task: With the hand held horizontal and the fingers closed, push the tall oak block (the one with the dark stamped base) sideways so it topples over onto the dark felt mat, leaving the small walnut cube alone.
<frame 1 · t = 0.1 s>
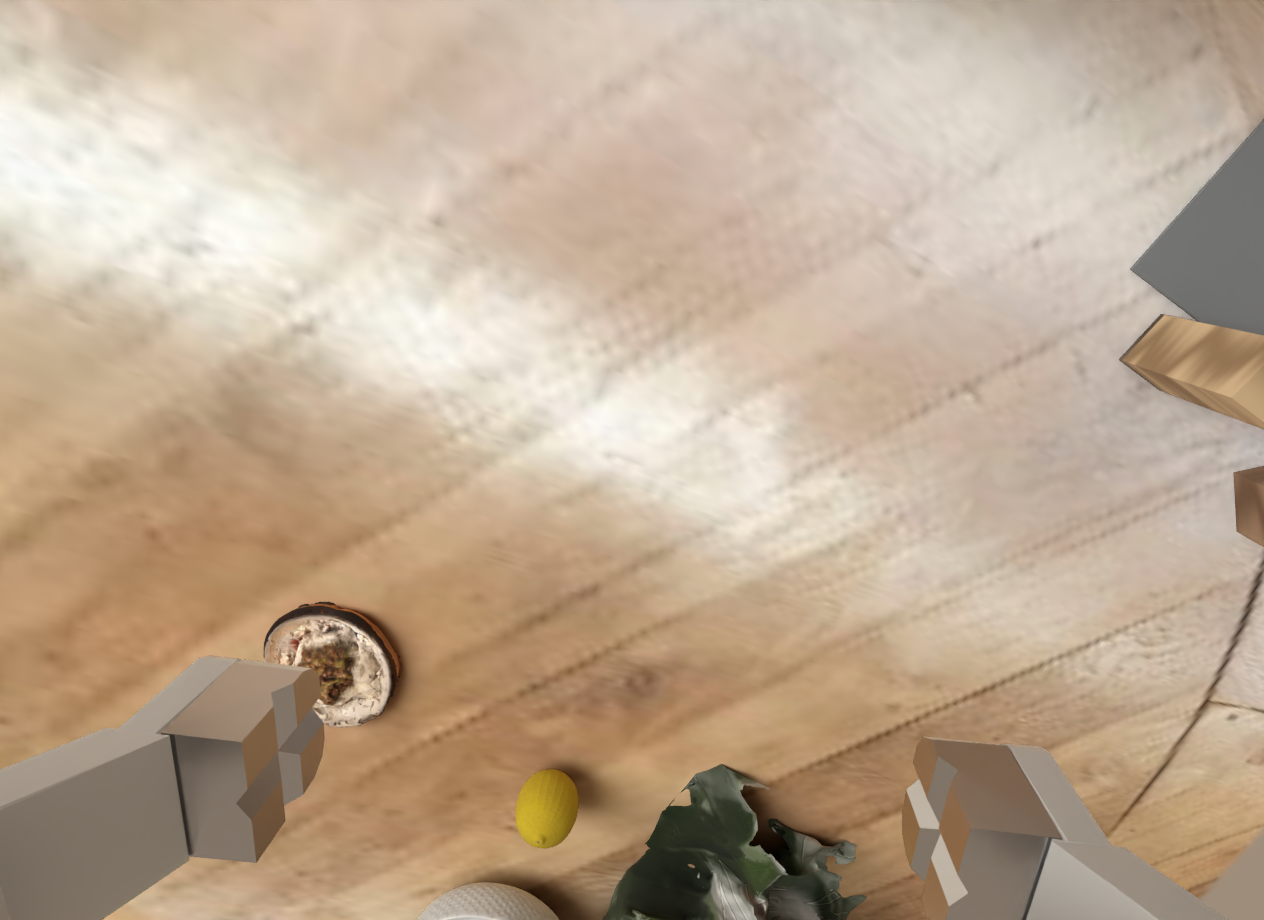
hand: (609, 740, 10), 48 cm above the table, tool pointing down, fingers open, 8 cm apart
oak block: (1160, 352, 53), on the table
cream pie: (338, 656, 69), on the table
lemon: (555, 773, 70), on the table
cereal bowl: (502, 915, 77), on the table
rose bouquet: (750, 901, 73), on the table
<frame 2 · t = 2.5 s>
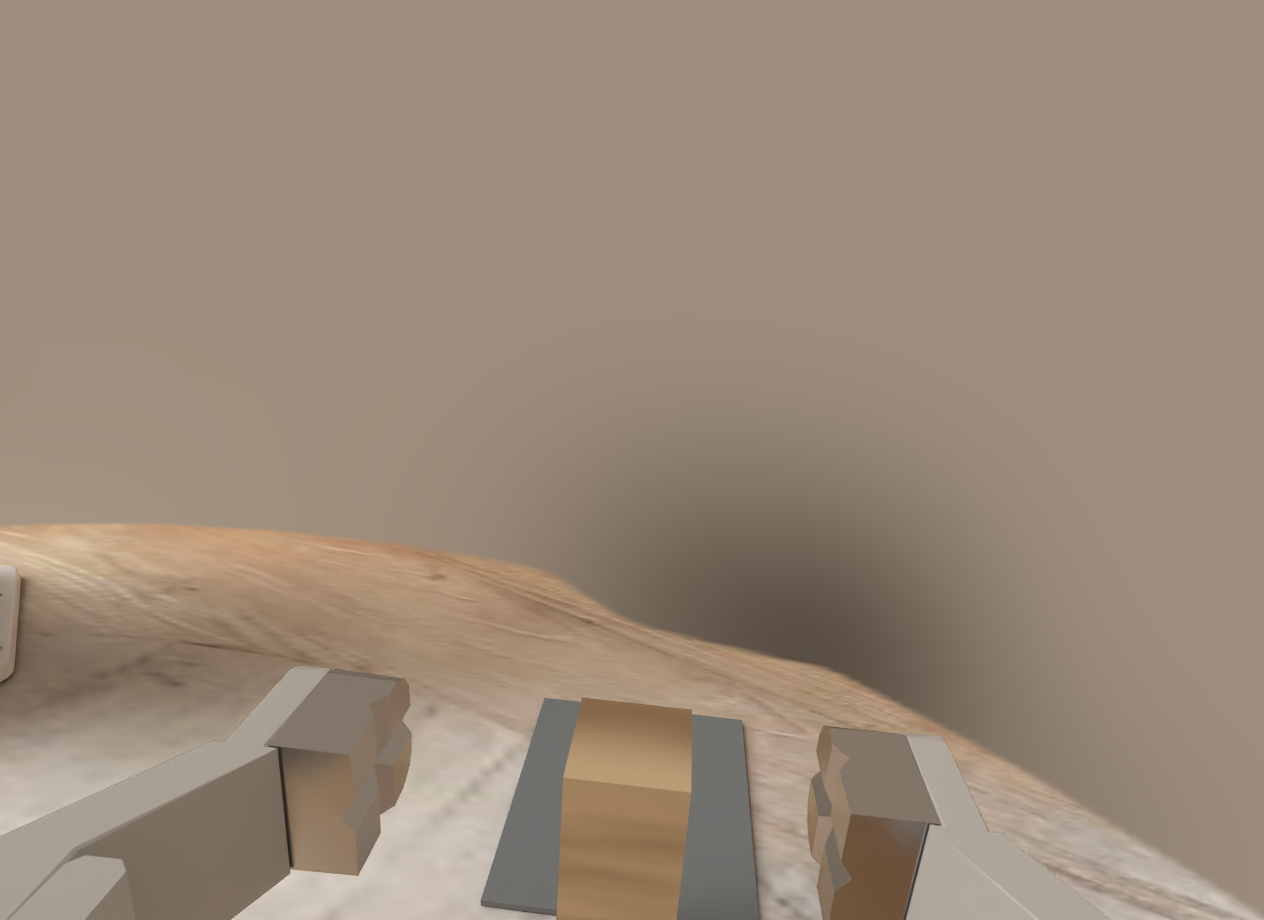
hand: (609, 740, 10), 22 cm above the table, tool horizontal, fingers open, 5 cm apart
felt mat: (632, 799, 38), on the table
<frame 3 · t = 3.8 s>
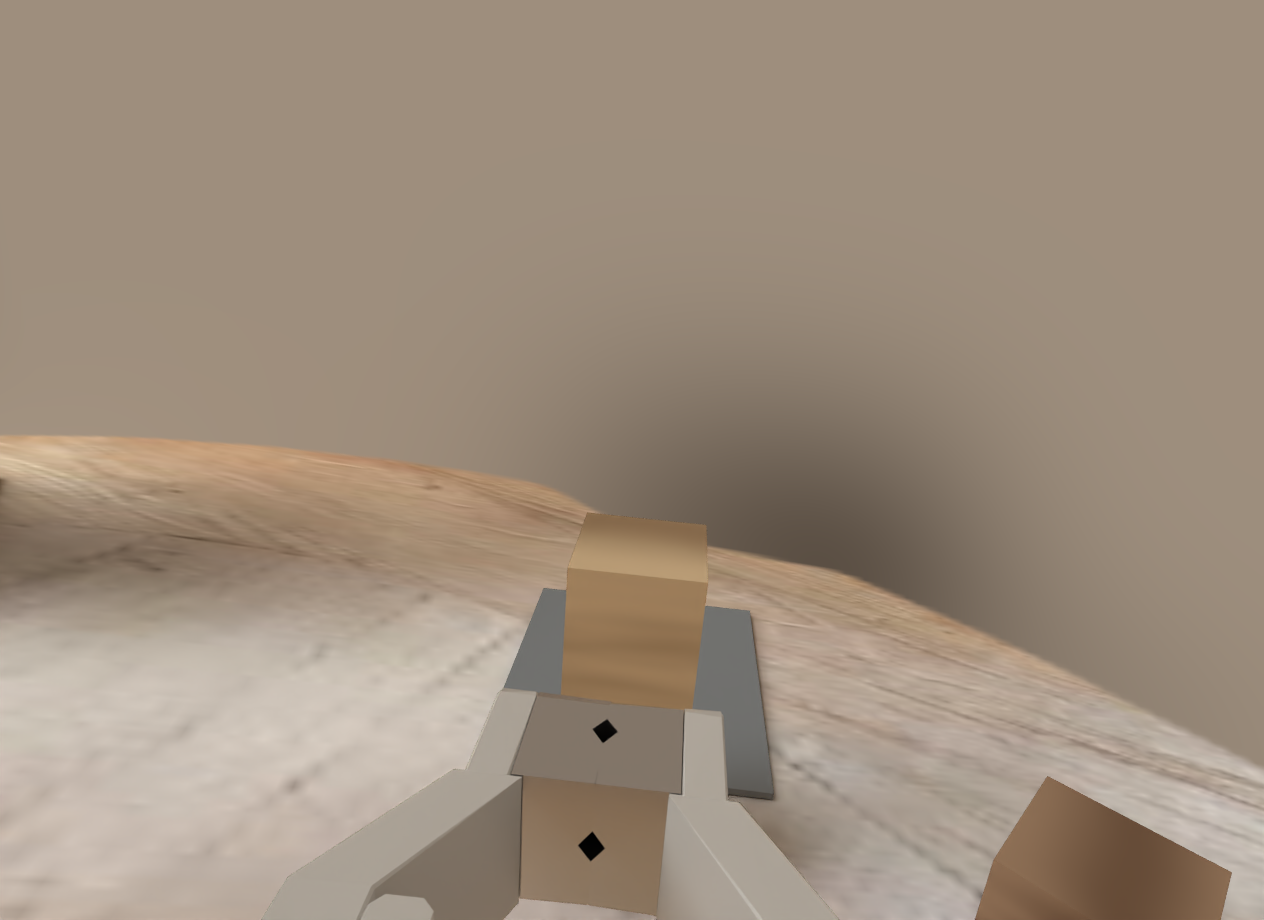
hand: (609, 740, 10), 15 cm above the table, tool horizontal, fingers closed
felt mat: (636, 676, 36), on the table
oak block: (615, 843, 27), on the table
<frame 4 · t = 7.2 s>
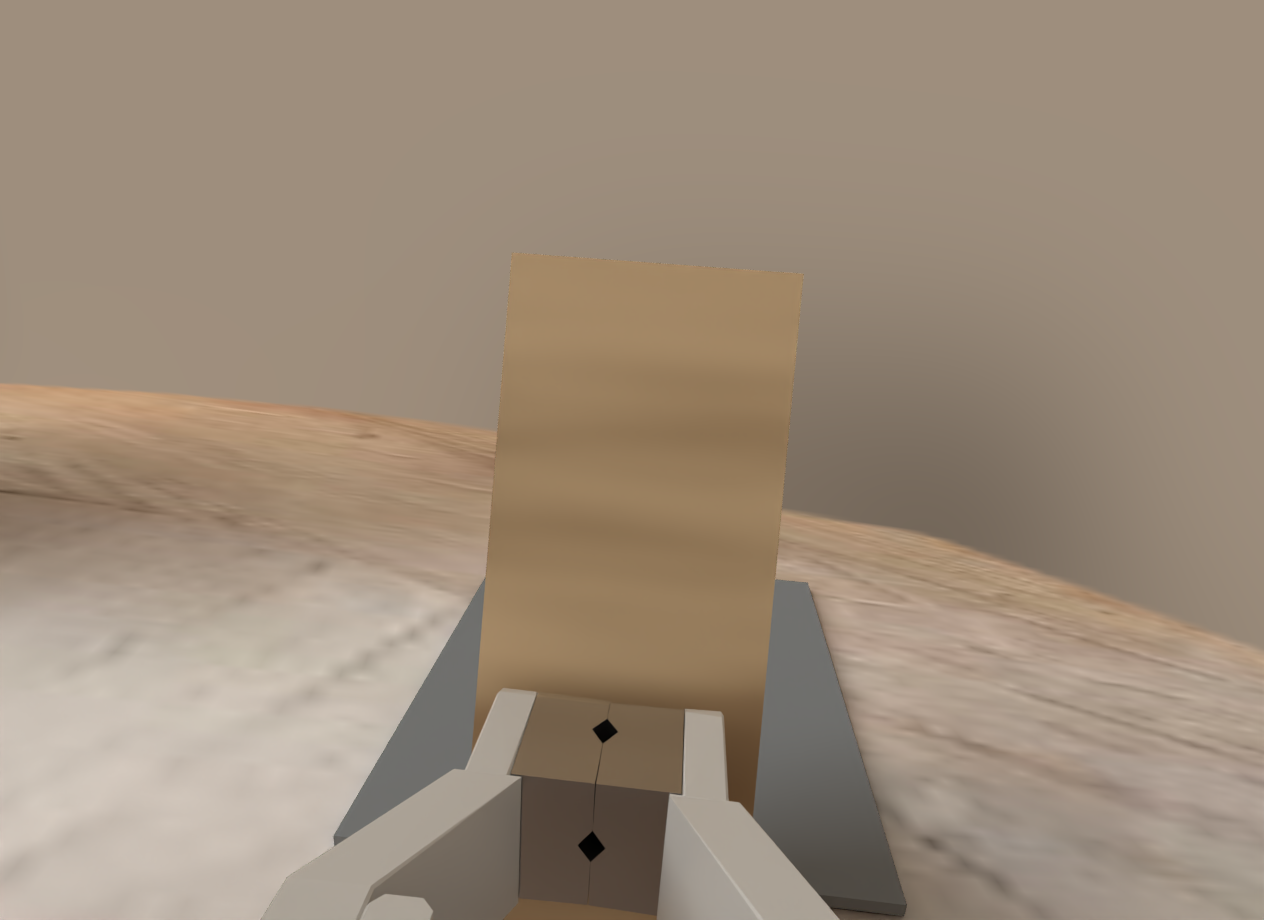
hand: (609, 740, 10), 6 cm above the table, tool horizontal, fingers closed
felt mat: (637, 681, 22), on the table
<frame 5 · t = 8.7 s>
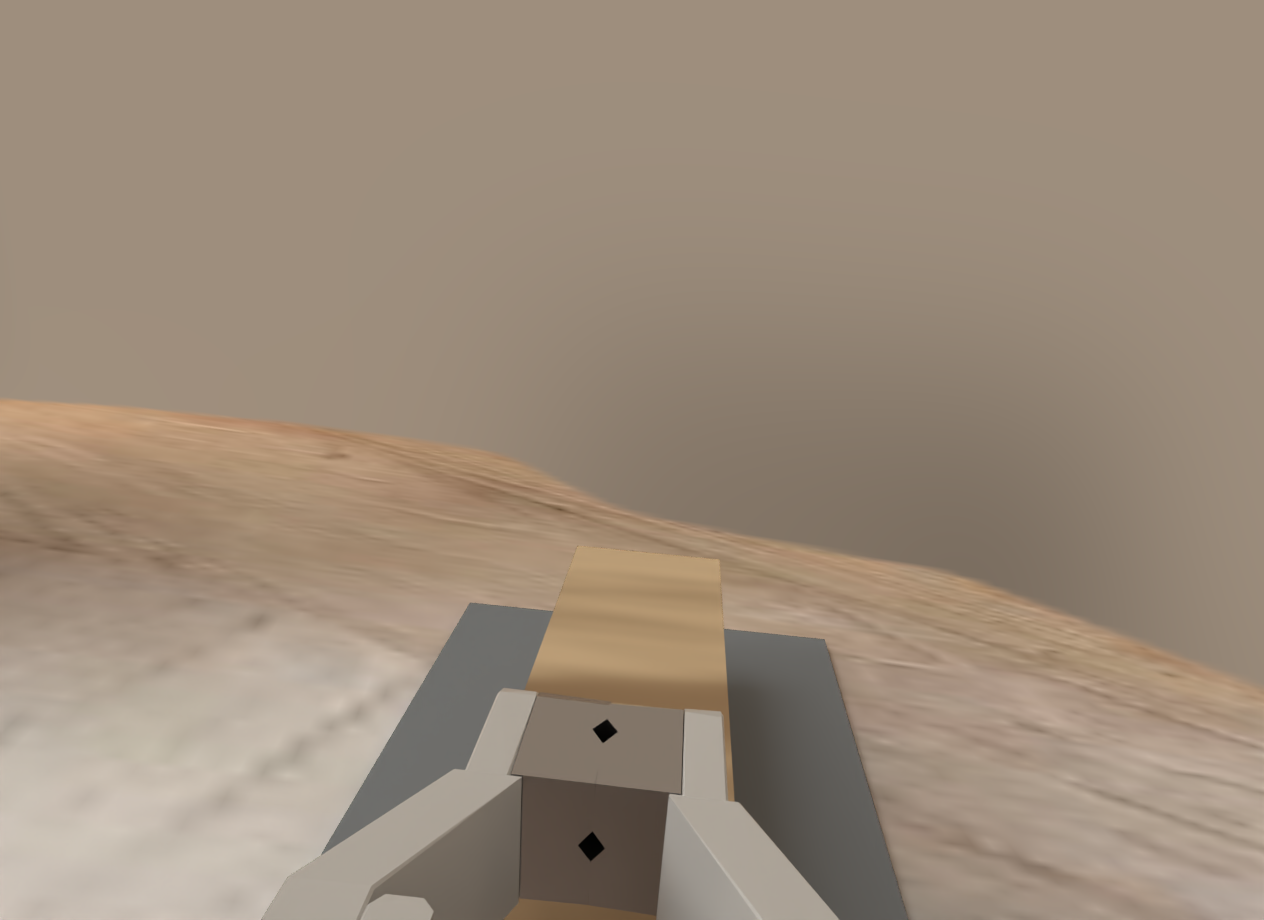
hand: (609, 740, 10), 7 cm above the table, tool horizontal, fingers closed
felt mat: (624, 777, 18), on the table
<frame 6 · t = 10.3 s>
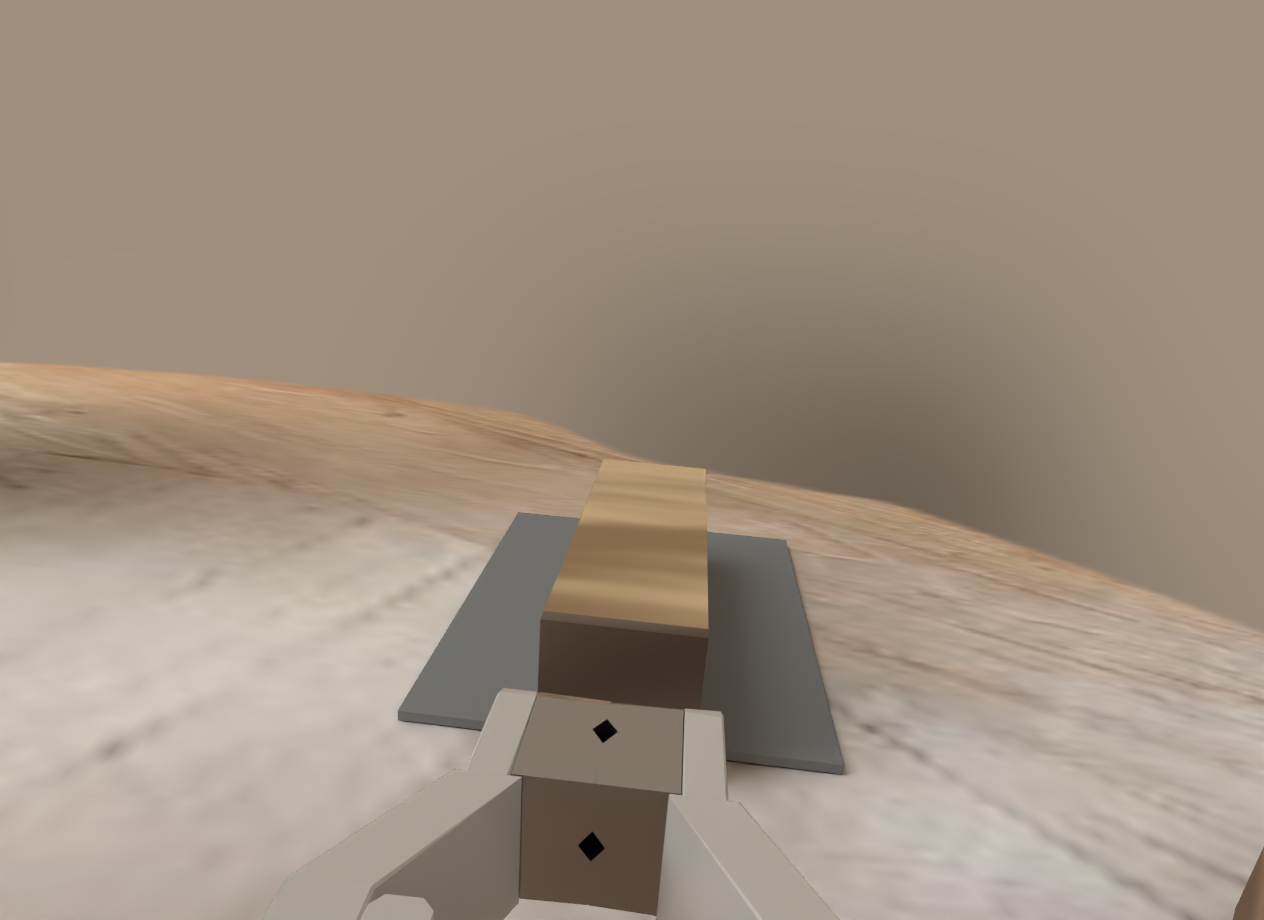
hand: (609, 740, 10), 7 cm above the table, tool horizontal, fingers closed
felt mat: (637, 612, 26), on the table
oak block: (618, 699, 18), point 2 cm above the table, tilted 90°, touching felt mat
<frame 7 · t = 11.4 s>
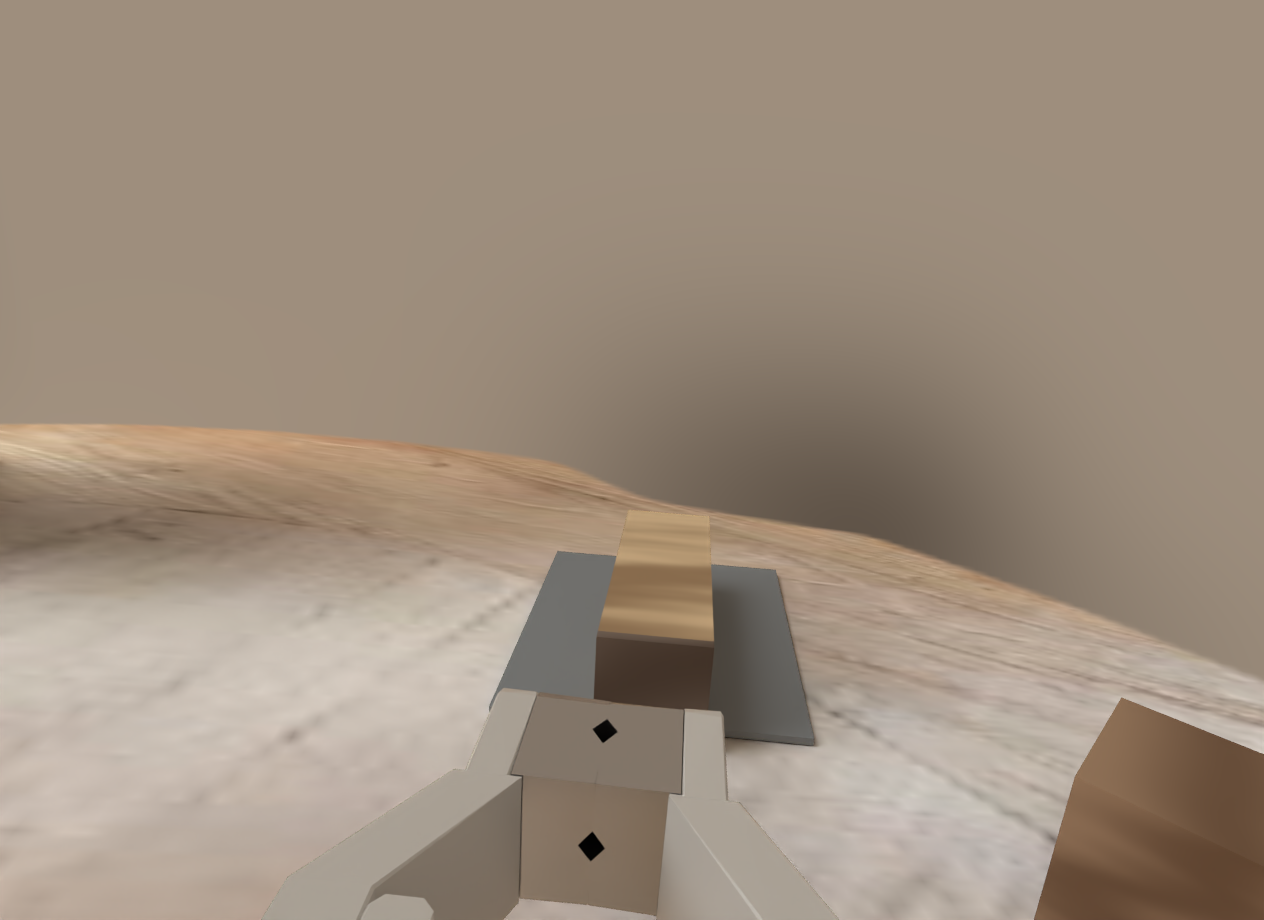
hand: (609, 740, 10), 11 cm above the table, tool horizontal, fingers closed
felt mat: (658, 631, 34), on the table
oak block: (651, 692, 25), point 2 cm above the table, tilted 90°, touching felt mat
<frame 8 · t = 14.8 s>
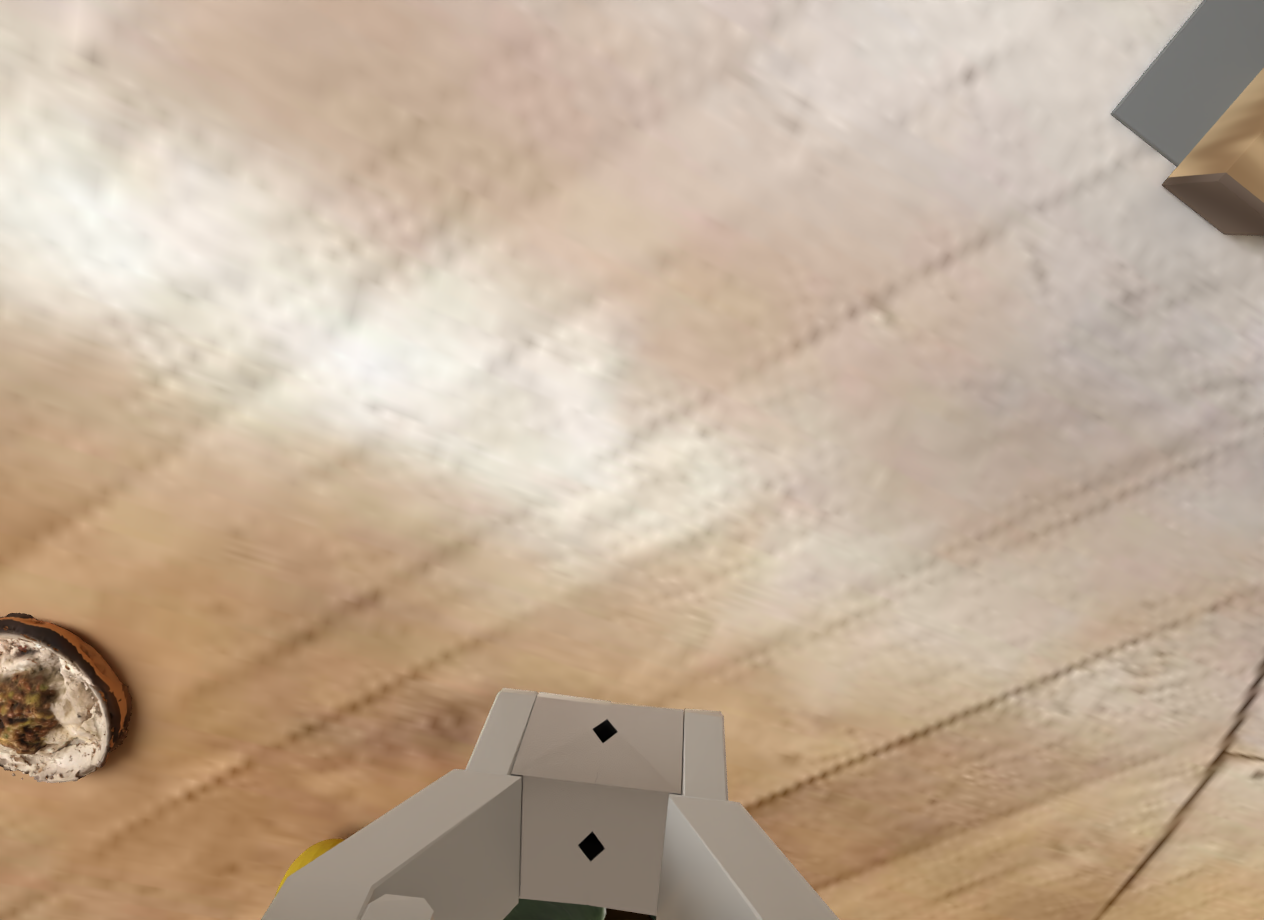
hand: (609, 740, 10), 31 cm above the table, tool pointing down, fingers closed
oak block: (1221, 209, 33), point 2 cm above the table, tilted 90°, touching felt mat
cream pie: (52, 687, 51), on the table
lemon: (351, 841, 53), on the table
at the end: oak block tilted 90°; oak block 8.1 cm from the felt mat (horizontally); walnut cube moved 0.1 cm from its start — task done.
